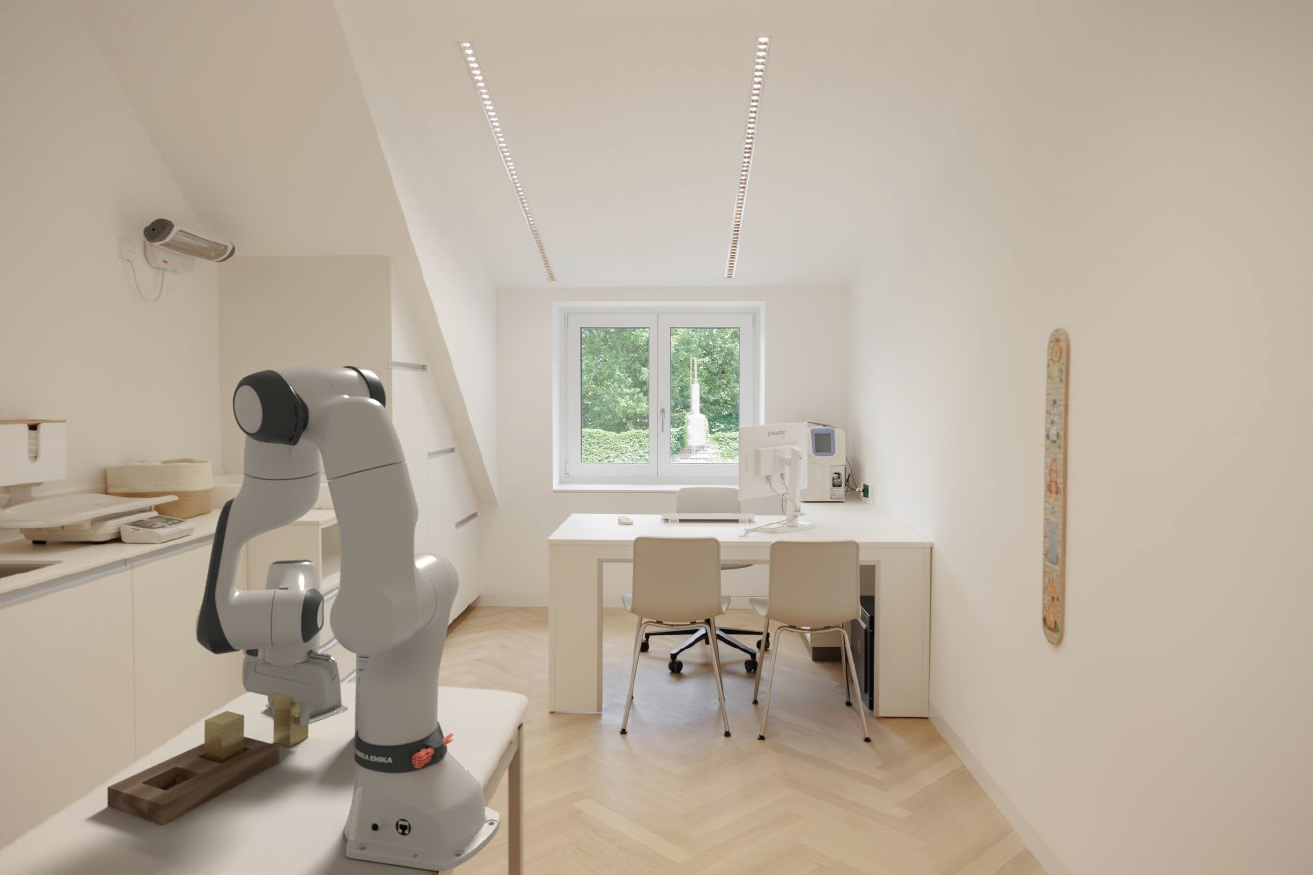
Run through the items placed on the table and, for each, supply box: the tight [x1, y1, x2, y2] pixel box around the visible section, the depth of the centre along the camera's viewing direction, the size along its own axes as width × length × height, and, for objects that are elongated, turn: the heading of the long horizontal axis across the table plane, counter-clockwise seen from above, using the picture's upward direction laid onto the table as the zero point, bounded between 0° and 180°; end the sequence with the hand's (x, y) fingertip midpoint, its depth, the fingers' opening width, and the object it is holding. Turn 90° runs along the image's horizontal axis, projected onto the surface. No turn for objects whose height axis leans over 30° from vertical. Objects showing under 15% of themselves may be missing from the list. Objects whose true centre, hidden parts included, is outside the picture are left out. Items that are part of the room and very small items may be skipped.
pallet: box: [107, 736, 280, 826], centre depth 116 cm, size 12×20×3 cm, turn 159°
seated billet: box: [203, 710, 245, 763], centre depth 120 cm, size 4×4×9 cm
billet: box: [272, 693, 309, 748], centre depth 131 cm, size 4×4×9 cm
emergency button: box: [265, 696, 349, 725], centre depth 146 cm, size 9×4×15 cm
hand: (291, 721), depth 131 cm, fingers closed on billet, 4 cm apart
